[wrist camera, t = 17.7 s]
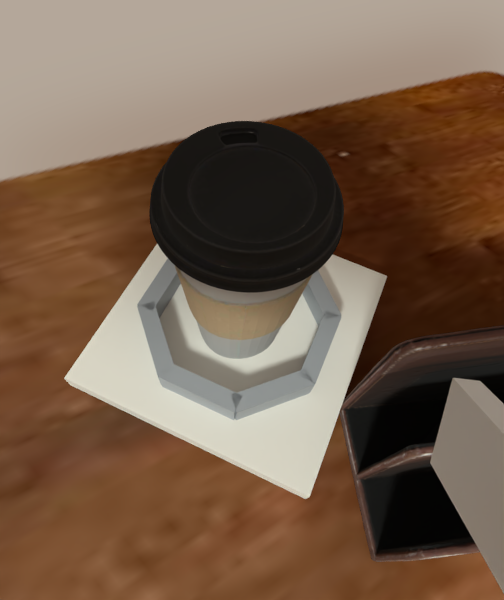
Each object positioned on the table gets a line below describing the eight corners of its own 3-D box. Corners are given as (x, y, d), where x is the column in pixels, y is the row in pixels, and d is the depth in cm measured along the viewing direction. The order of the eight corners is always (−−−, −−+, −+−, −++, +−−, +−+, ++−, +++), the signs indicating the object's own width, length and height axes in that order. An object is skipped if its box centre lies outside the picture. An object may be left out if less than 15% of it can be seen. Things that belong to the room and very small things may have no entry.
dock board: (70, 385, 32) (54, 368, 29) (189, 209, 40) (187, 181, 37) (305, 499, 29) (315, 493, 26) (381, 285, 38) (395, 262, 35)
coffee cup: (249, 251, 37) (265, 86, 24) (327, 336, 33) (396, 200, 20) (149, 311, 33) (103, 160, 20) (224, 412, 30) (227, 309, 17)
